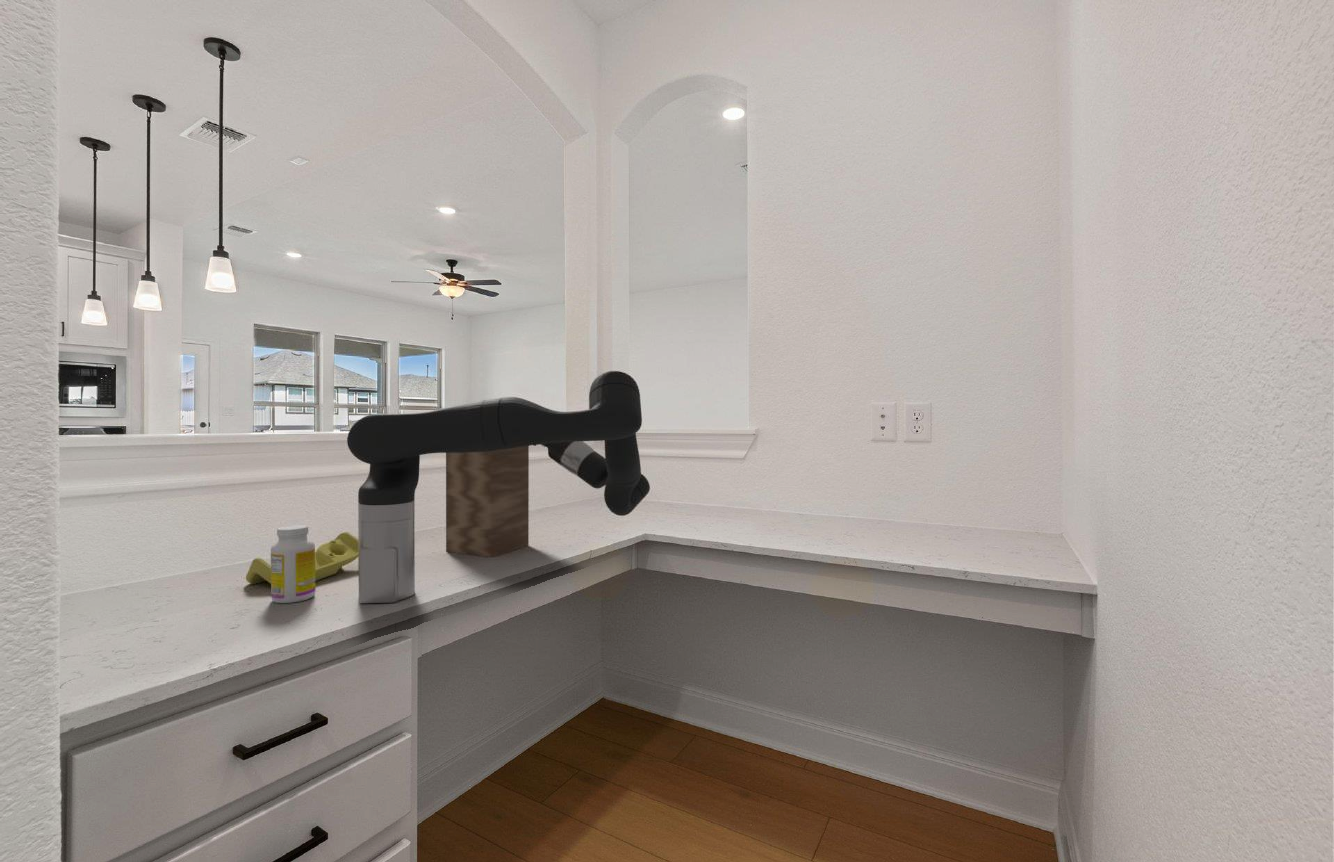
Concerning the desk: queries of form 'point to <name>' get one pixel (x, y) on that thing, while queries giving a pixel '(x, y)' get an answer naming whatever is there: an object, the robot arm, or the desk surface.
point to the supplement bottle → (292, 565)
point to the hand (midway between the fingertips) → (522, 418)
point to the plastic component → (326, 559)
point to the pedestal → (487, 501)
